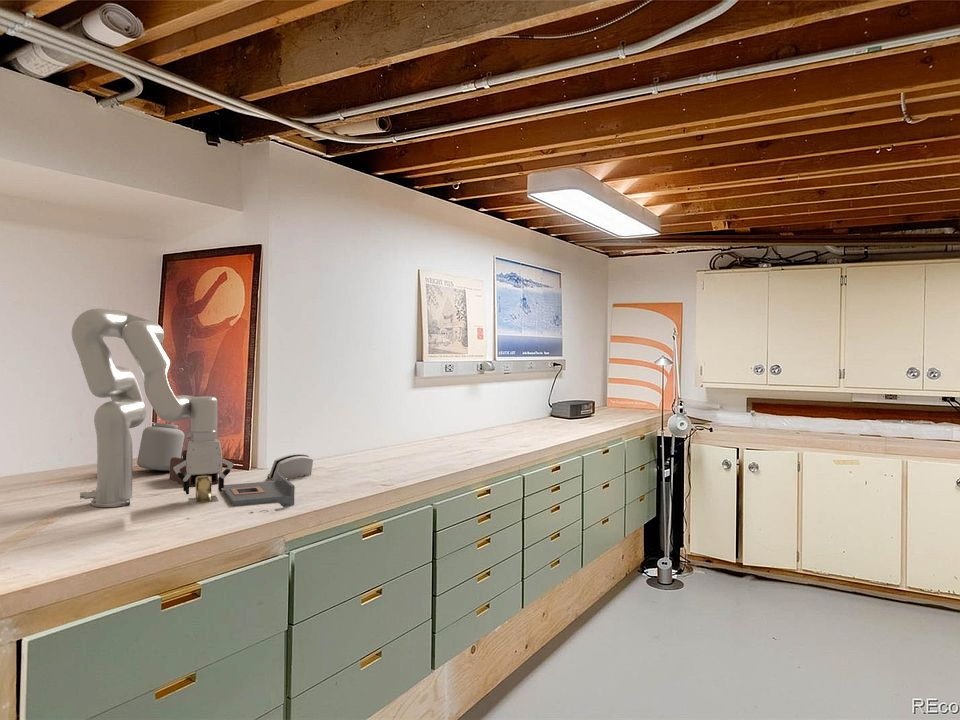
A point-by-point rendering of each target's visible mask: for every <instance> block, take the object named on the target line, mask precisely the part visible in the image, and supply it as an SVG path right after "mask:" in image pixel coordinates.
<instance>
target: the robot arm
mask: <svg viewBox="0 0 960 720" xmlns="http://www.w3.org/2000/svg"><path fill="white" fill-rule="evenodd" d="M76 317H77V318H76V319H75V320H74V322H73V325H72V327H71V338H72V342H73V345H74V348H75V350H76V353H77V355H78V358H79V360H80V365H81V368H82V372H83V374H84V376H85V377H84V378H85V379H86V383H87V387H88V389H89V391H90V392H91V394H92V395H93V396H95V397H97V398H101V399H102V398H103V399H104V398H105V399H107V398H110V401H105V402H104V403H102V404H101V405H100V406H98V408H97V409H96V410H95V413H94V418H93V424H94V428H95V432H96V433H95V434H96V443H97V444H96V447H97V448H96V450H97V452H96V453H97V457H96V458H97V459H96V460H97V461H96V463H97V464H96V467H97V469H96V471H97V473H96V478H97V479H96V487H95V489H93V490H91V491H80V492H79V499H84V500H88V499H92V500H90V501H91V502H90V504H91V506H93V507H96V508H116V507H123V506H127V505H128V506H129V505H131V500H130V499H132V498H133V467H134V466H133V462H134V461H133V459H134V458H133V455H134V453H133V439H132V434H131V431H130V429H133V428H136V427H138V426H140V425H142V423H143V422H145V420H146V417H147V408H146V404H145V401H144V397H143V395H142V392H141V389H140V385H139V383H138V380H137V378H136V376H135V374H134V373H133V372H132V371H131V370H130V369H128V368H127V367H124V366H120V365H119V366H118V365H116V364H115V362H114V359H113V356H112V353H111V350H110V349H109V347H108V345H107V344H106V342H105V341H104V337H107V338H109V337H111V338H112V337H113V338H119V339H121V340H123V341H124V343H125V345H126V346H127V349H128V351H130V353H131V355H132V357H133V359H134V360H135V363H136V365H137V366H138V367H139V369H140V371H141V373H142V377H143V378H142V379H143V380H142V381H143V387H144V392H145V396H146V399H147V400H148V402H149V404H150V405H151V408H152V409H153V410H154V412H155V414H156V415H157V416H158V417H159V419H161V420H162V421H164V422H168V423H173V422H178V421H182V420H186V419H190V432H188V433H185V438H186V439H189V441H188V443H187V449H186V450H187V455H186V460H185V461H184V462H182V463H180V464H178V465H176V466H175V467H174V468H173V469H174V471H175V472H176V474H177V476H178V477H179V478H181V479H182V480H183V484H182V485H183V488H182V489H183V492H185V495H186V496H187V495H189V494H190V487H189V481H188V479H189V478H190V476H191V475H201V474H214V473H218V484H217V485H218V486H217V490H218V491H219V492H222V491H223V490H222V488H224V485H225V478H226V477H227V476H228V475H229V474H230V472H231V471H232V470H233V469H232V468H233V467H234V463H233V462H232V461H229V460H227V459H225V458H223V453H222V444H221V441H220V439H218V399H217V398H216V397H215V396H205V395H204V396H193V395H187V394H186V395H185V394H180V395H175V393H174V391H173V390H172V389H171V386H170V383H169V381H168V372H169V369H170V366H171V359H170V358H169V356H168V355H167V353H166V351H165V350H164V348H163V346H162V343H163V342H164V339H165V331H164V329H163V328H162V327H161V325H159V323H157V322H155V321H152V320H149V319H146V318H142V317H139V316H137V315H133V314H132V313H128V312H126V311H121V310H115V309H108V308H107V309H106V308H91V309H88V310H85V311H83V312H82V313H81V314H79V315H78V316H76ZM223 464H224V465H226V468H225V469H224V470H223ZM184 466H186V471H187V472H186V474H185V475H183V474H182V473H181V472H180V469H181V468H182V467H184Z"/></svg>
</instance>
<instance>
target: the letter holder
mask: <svg viewBox="0 0 960 720" xmlns="http://www.w3.org/2000/svg"><path fill="white" fill-rule="evenodd" d="M186 455H187V449H182V457H181V458H176V457H172V458H171V460H170V471H169V479H170V480H172V481H175V482H177V483H179V484H181V485H183V480H182V479H181V478H179V477H178V476H177V474H176V472H175V471H174V469H173V468H174V467H175V466H176V465H178V464H180V463H182V462H184V461H185V460H186ZM180 472H181V473H182V474H183V475H185V474H186V472H187V471H186V466H184V467H182V468H181V469H180ZM198 476H211V477H212V481H211V486H212V485H218V478H219V475H218V473H214V474H201V475H191V476H190V478H189V479H188V481H189V488H196V477H198Z"/></svg>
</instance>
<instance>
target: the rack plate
mask: <svg viewBox="0 0 960 720" xmlns="http://www.w3.org/2000/svg"><path fill="white" fill-rule="evenodd" d="M295 488H296V487H295V485H294V484H293V483H292V482H291V481H290V480H288V479H286V478H285V477H284V476H282V475H281V474H280V473H279V472H275V481H273V480H271V481H256V482H244V483H234V484H231V483H230V484H224V488H222V491H223V493H224V494H225V496H226V497H227V499H228V501H229V502H230V504H231V506H232V507H238V506H239V507H241V506H250V505H260V504H261V505H262V504H268V503H269V504H271V503H279V505H280V506H281V507H287V506H294V505H295Z"/></svg>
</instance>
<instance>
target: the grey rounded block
mask: <svg viewBox="0 0 960 720" xmlns="http://www.w3.org/2000/svg"><path fill="white" fill-rule="evenodd" d="M313 462H314V459H313V458H312V456H311V457H310V455H308V454H304V453H290V454H286V455H283V456H280V457H277V458H276V459H275V460H274V461H273V464H272V465H271V466H272V467H271V470H270V471H269V473H267V477H266V479H267V480H269V478H270V479H271V481H275V472H279V473H280V474H281V475H282V476H284V477H285V478H288V479H293V478H292V477H294V478H298V477H297V476H300V477H304V476H303V475H306V476H310V475H309V474H311V475H312V472H313V471H312V470H313V464H314V463H313Z"/></svg>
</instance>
